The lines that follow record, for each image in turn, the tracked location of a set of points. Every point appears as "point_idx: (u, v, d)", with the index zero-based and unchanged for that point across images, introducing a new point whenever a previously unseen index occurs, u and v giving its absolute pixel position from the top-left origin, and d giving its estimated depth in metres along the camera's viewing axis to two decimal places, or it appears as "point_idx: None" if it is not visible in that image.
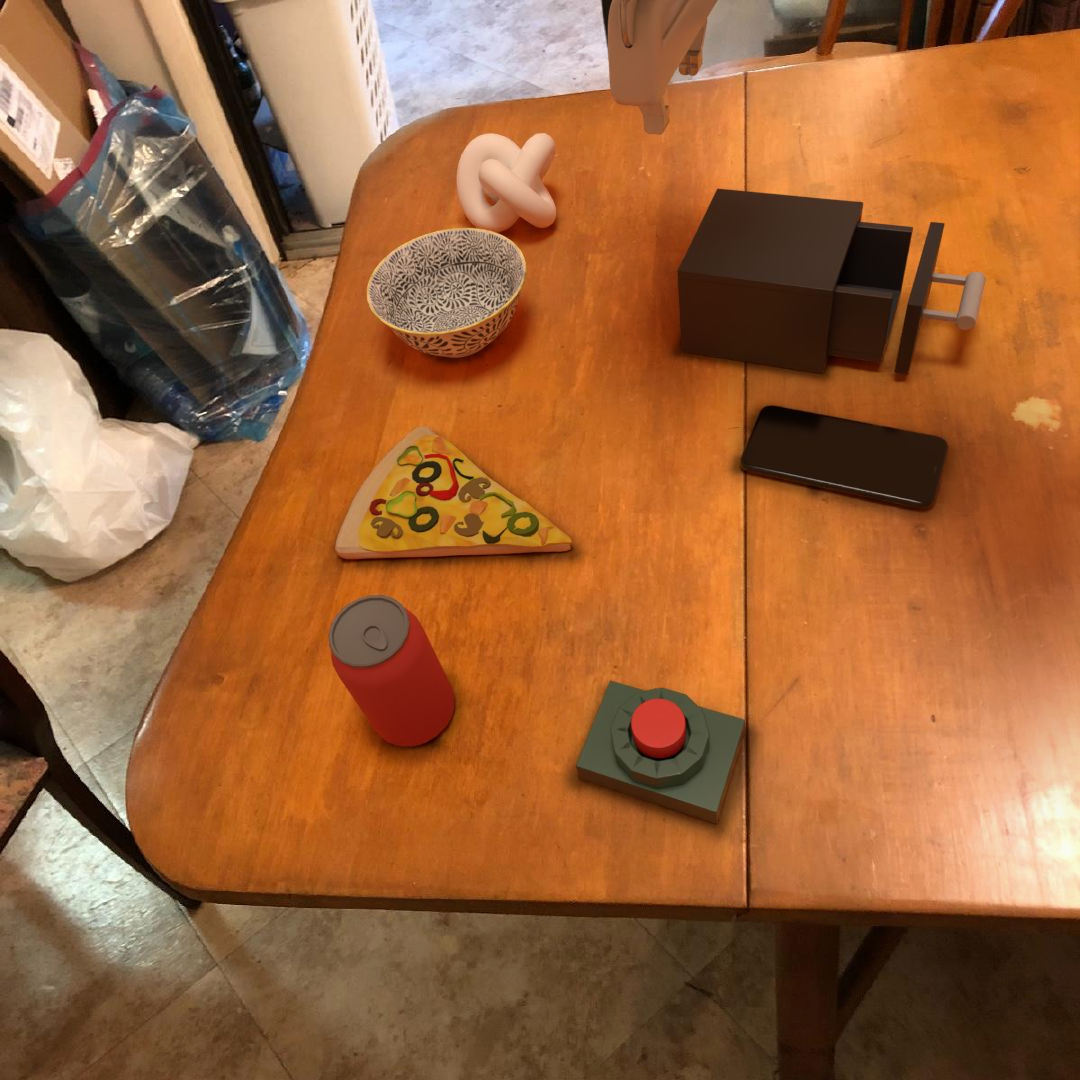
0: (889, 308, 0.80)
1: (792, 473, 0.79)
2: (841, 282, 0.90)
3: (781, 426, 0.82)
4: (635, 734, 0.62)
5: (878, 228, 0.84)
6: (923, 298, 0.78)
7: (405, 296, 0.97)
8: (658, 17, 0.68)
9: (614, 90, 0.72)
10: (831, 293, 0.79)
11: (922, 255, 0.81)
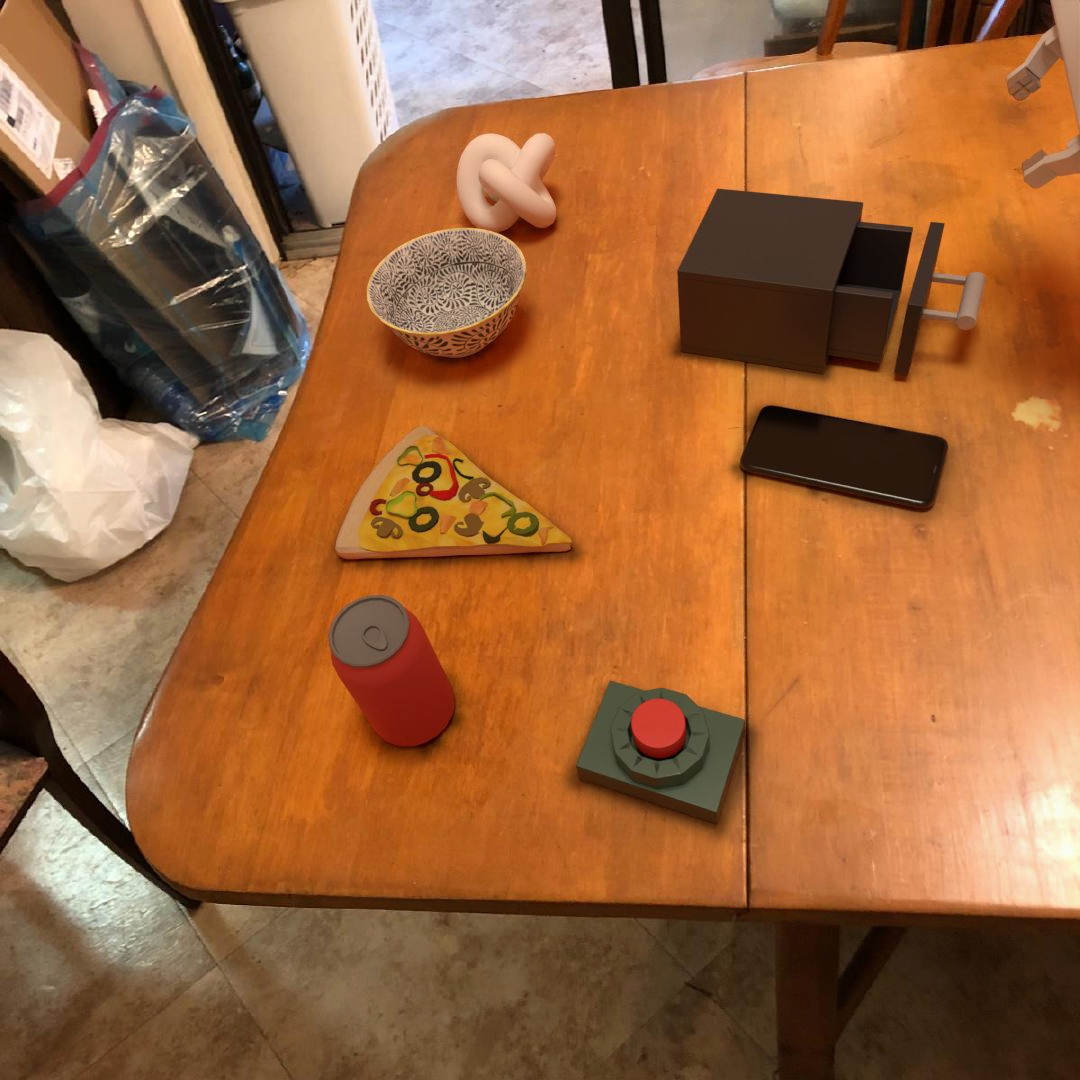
0: (889, 308, 0.80)
1: (792, 473, 0.79)
2: (841, 282, 0.90)
3: (781, 426, 0.82)
4: (635, 734, 0.62)
5: (878, 228, 0.84)
6: (923, 298, 0.78)
7: (405, 296, 0.97)
8: None
9: None
10: (831, 293, 0.79)
11: (922, 255, 0.81)
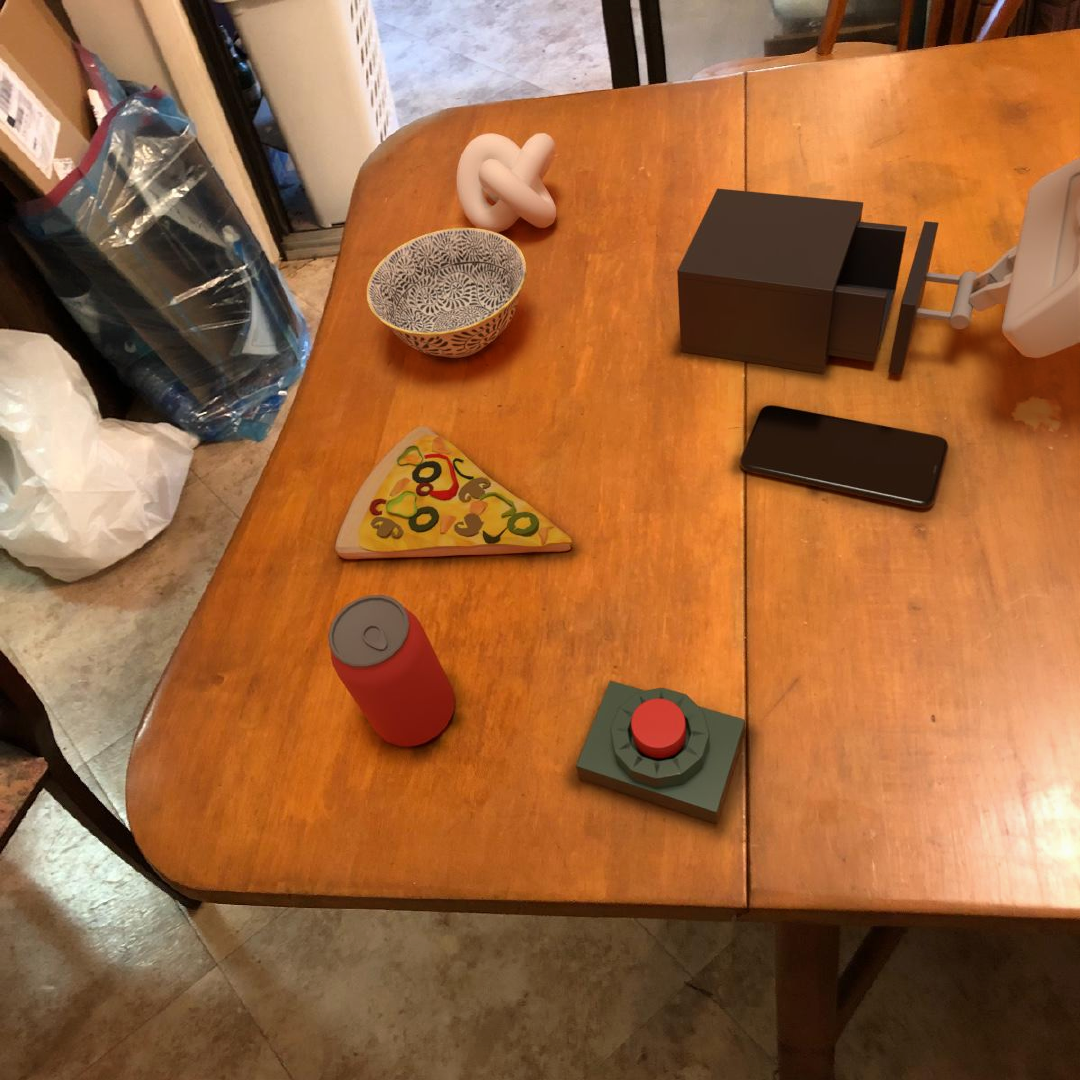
0: (883, 307, 0.80)
1: (792, 473, 0.79)
2: None
3: (781, 426, 0.82)
4: (635, 734, 0.62)
5: (872, 227, 0.85)
6: (917, 297, 0.78)
7: (405, 296, 0.97)
8: None
9: None
10: (831, 293, 0.79)
11: (916, 254, 0.81)
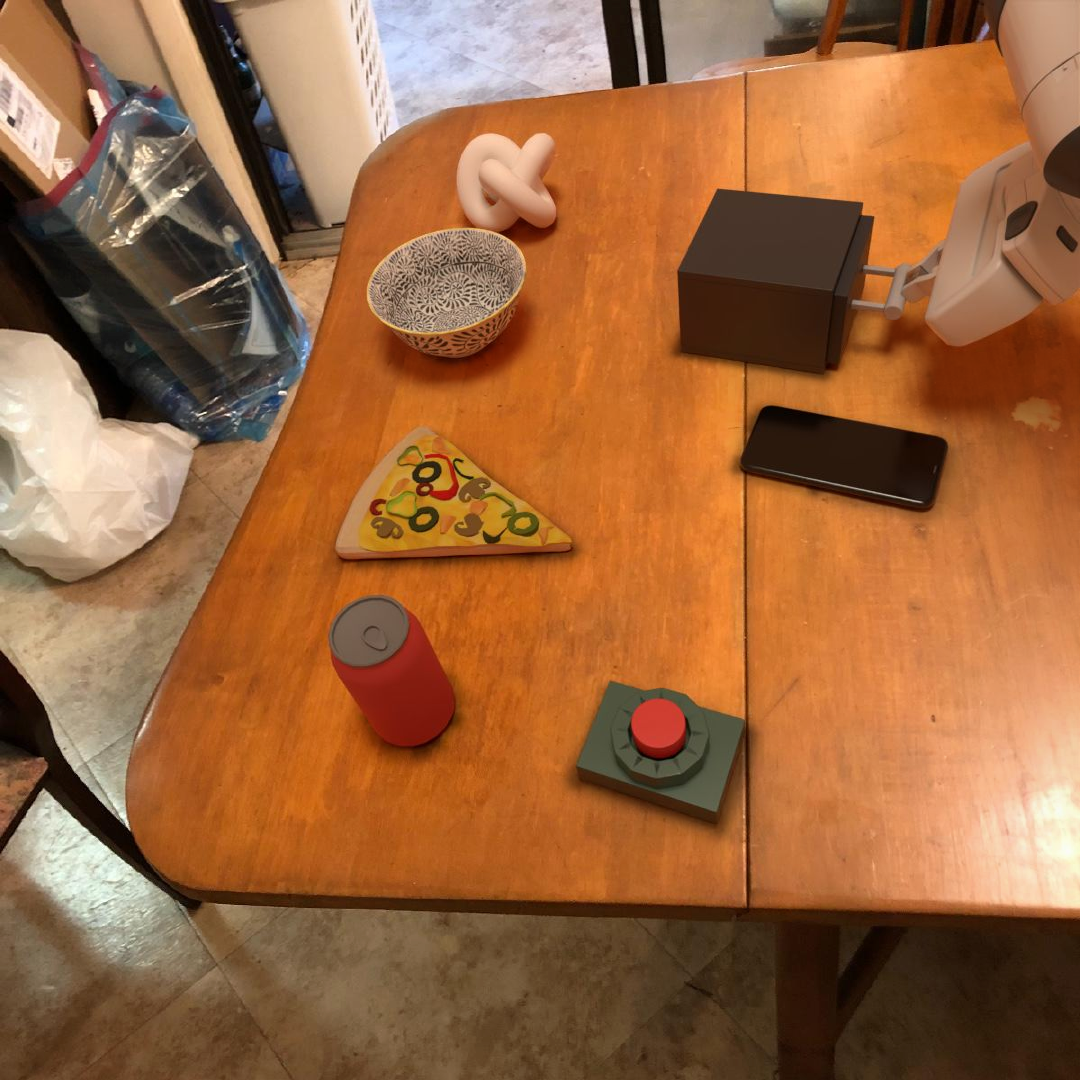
0: None
1: (792, 473, 0.79)
2: None
3: (781, 426, 0.82)
4: (635, 734, 0.62)
5: None
6: (849, 289, 0.80)
7: (405, 296, 0.97)
8: (1020, 149, 0.78)
9: None
10: (831, 293, 0.79)
11: (851, 247, 0.83)
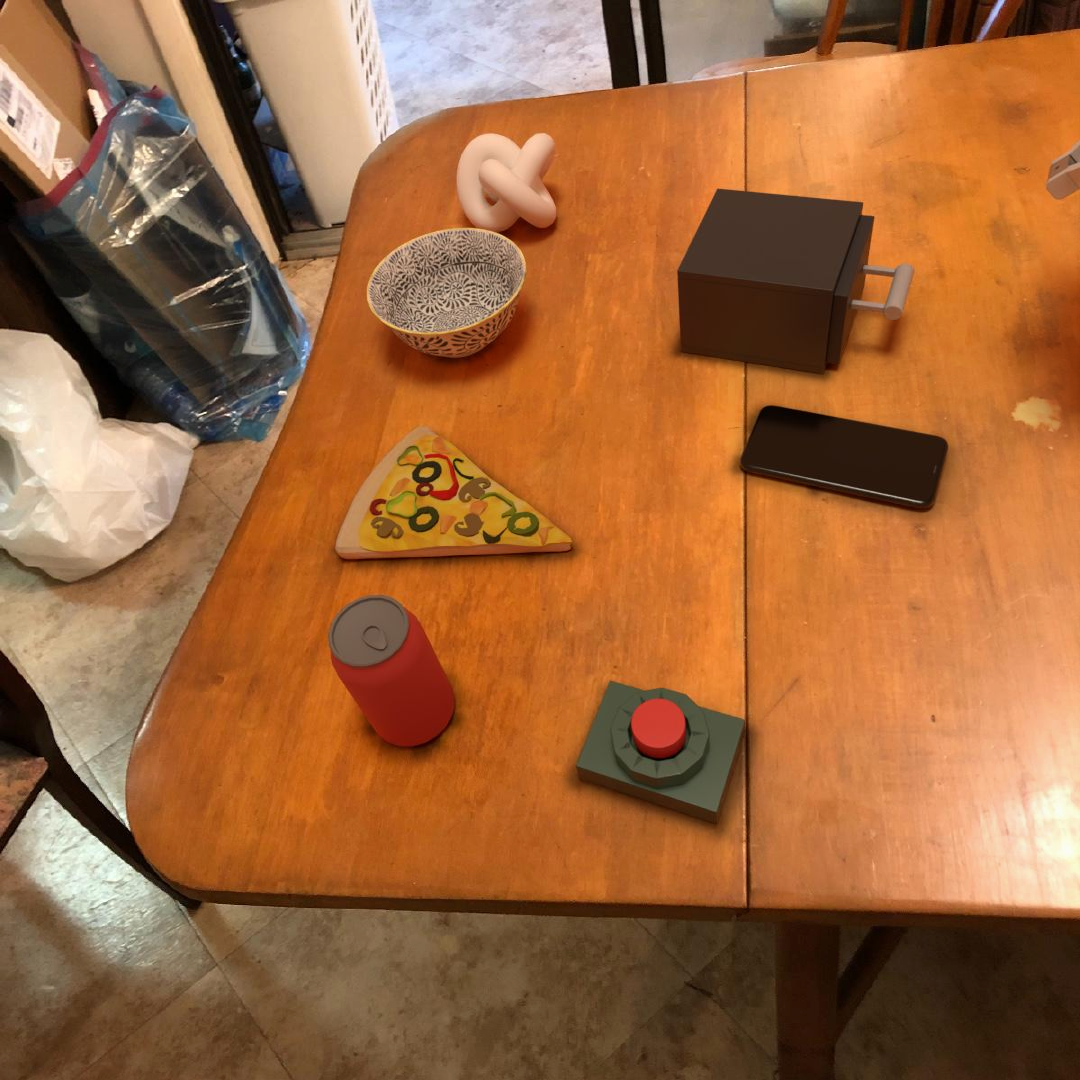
0: None
1: (792, 473, 0.79)
2: None
3: (781, 426, 0.82)
4: (635, 734, 0.62)
5: None
6: (849, 289, 0.80)
7: (405, 296, 0.97)
8: None
9: None
10: (831, 293, 0.79)
11: (851, 247, 0.83)
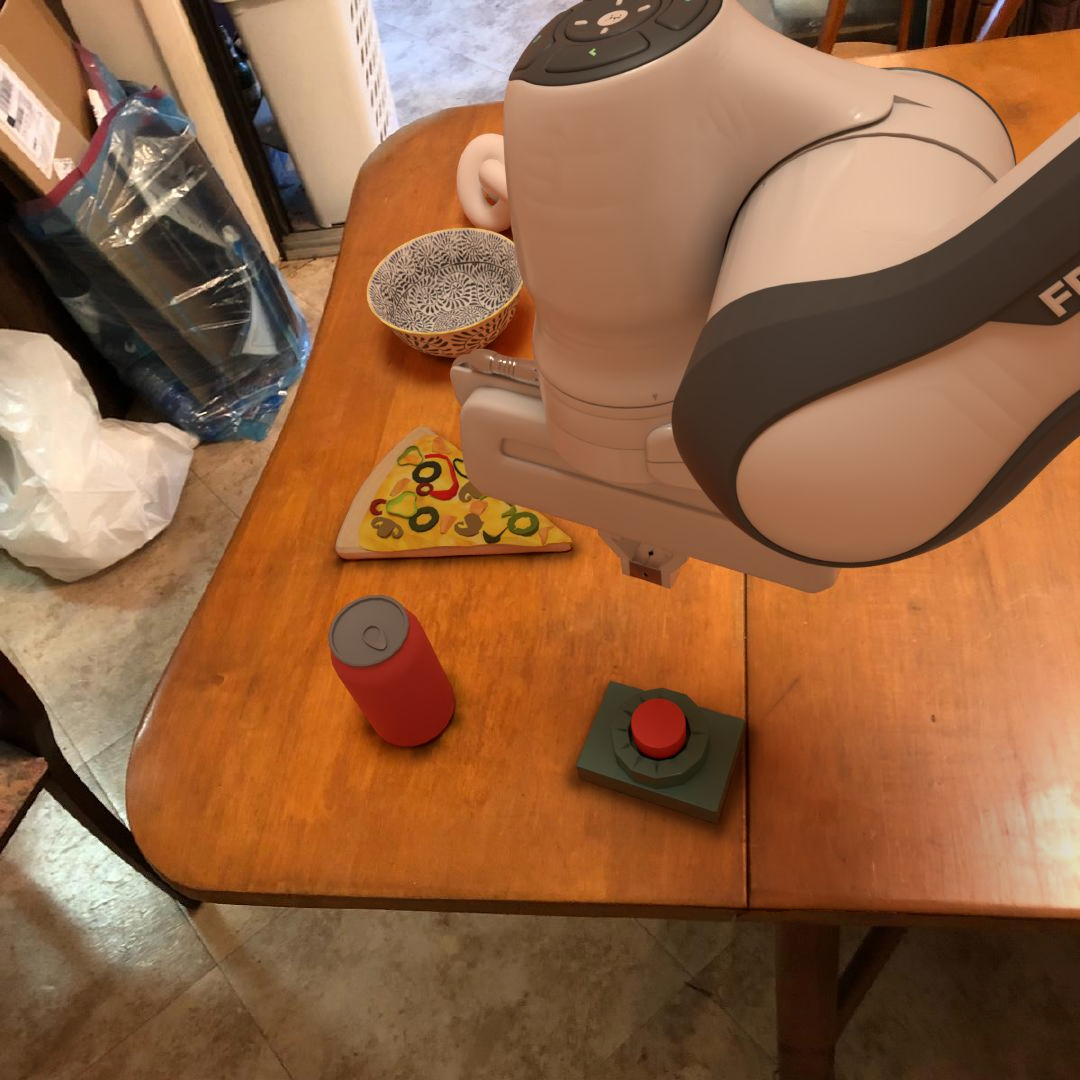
0: None
1: None
2: None
3: None
4: (635, 734, 0.62)
5: None
6: None
7: (405, 296, 0.97)
8: (479, 424, 0.47)
9: None
10: None
11: None
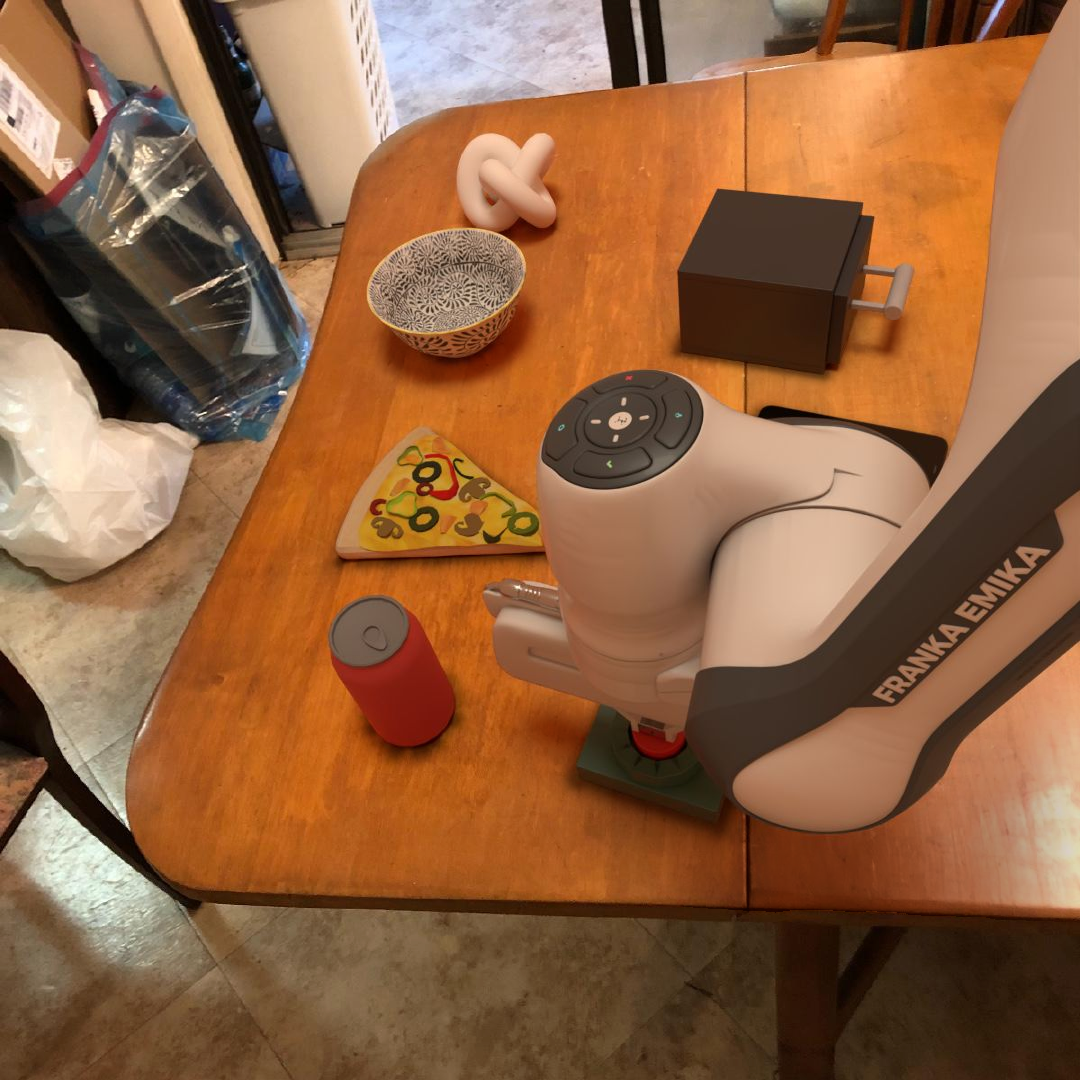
0: None
1: None
2: None
3: None
4: (636, 739, 0.63)
5: None
6: (849, 289, 0.80)
7: (405, 296, 0.97)
8: (510, 637, 0.56)
9: None
10: (831, 293, 0.79)
11: (851, 247, 0.83)
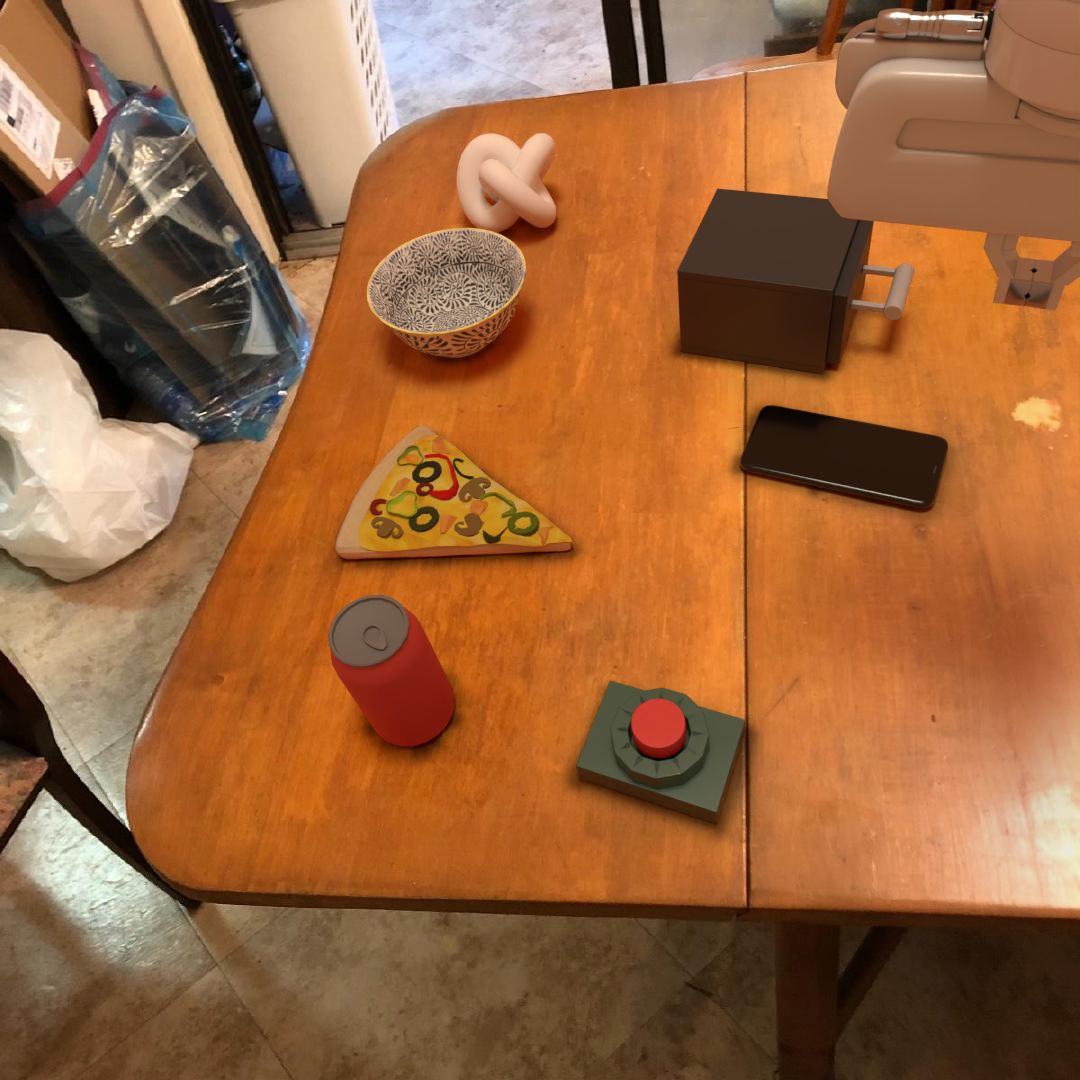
0: None
1: (792, 473, 0.79)
2: None
3: (781, 426, 0.82)
4: (635, 734, 0.62)
5: None
6: (849, 289, 0.80)
7: (405, 296, 0.97)
8: (882, 104, 0.41)
9: None
10: (831, 293, 0.79)
11: (851, 247, 0.83)
